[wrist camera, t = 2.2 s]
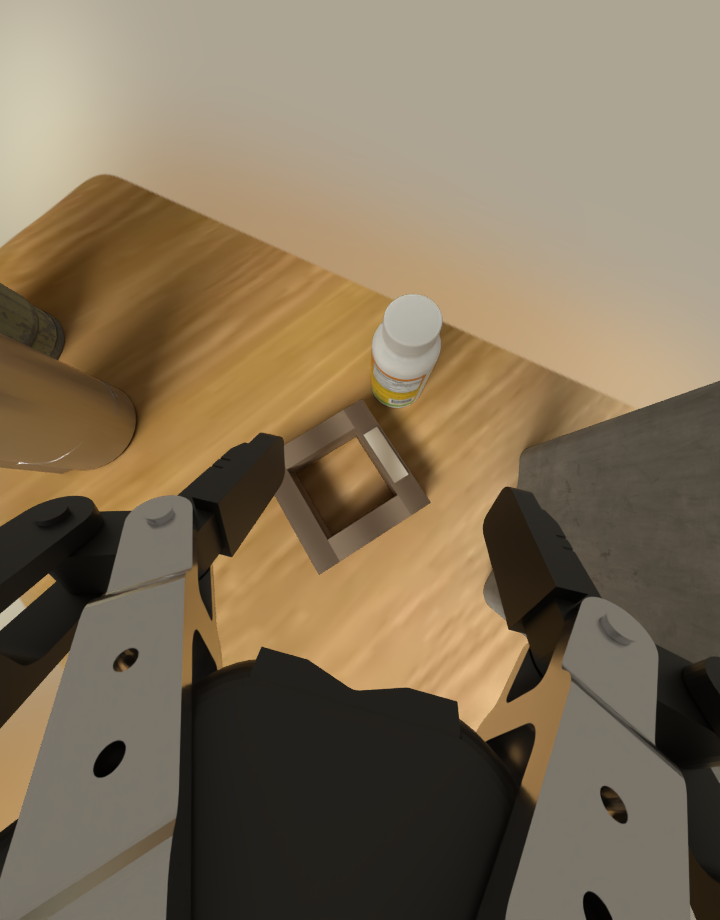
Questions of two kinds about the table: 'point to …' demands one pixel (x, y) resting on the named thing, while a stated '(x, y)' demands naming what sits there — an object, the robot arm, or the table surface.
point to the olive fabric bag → (29, 324)
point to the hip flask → (642, 515)
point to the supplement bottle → (405, 350)
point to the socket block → (373, 524)
